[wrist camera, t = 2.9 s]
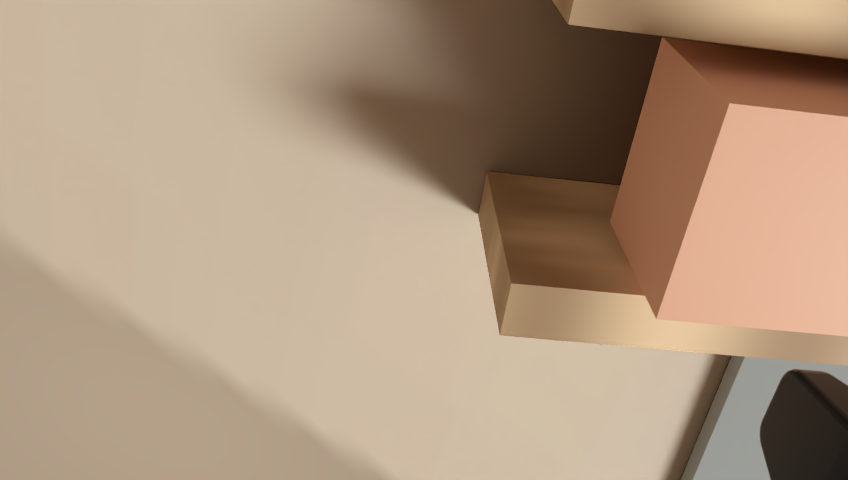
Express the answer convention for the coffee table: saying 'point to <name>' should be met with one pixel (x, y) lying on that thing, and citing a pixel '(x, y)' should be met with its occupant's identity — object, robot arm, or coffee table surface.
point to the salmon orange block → (740, 189)
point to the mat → (742, 419)
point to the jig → (594, 202)
